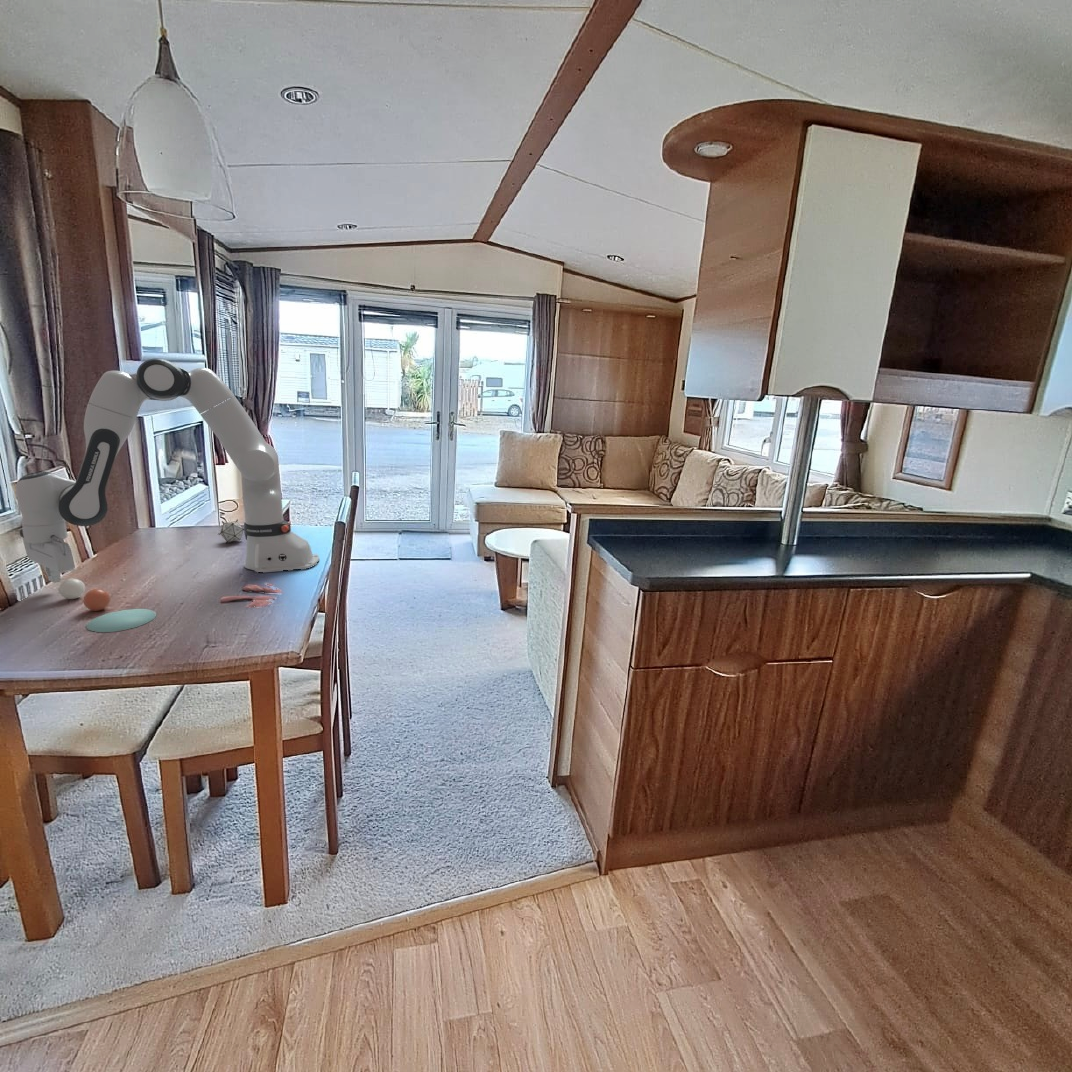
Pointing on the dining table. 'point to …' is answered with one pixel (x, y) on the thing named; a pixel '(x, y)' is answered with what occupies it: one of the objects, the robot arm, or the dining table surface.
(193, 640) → the dining table surface
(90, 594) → the brown egg
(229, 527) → the game die
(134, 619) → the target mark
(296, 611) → the dining table surface
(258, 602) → the pinkish brown flat pieces
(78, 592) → the white egg
